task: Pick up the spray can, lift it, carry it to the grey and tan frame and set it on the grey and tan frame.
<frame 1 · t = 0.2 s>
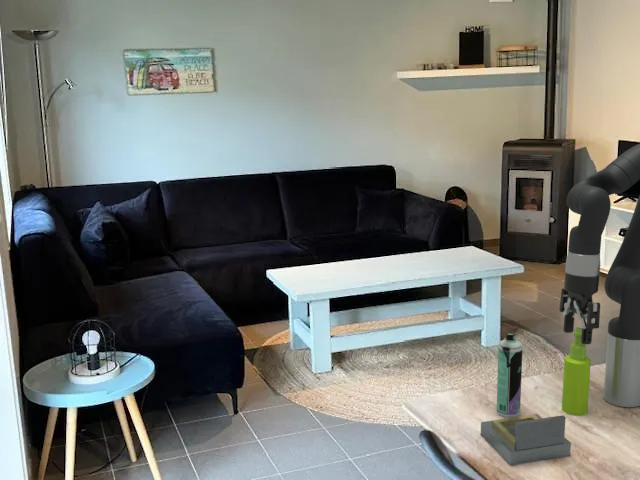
hand: (576, 337, 179), 18 cm above the table, tool pointing down, fingers open, 8 cm apart
spray can: (508, 413, 182), on the table
grey and tan frame: (524, 444, 166), on the table
soap dispenser: (574, 409, 182), on the table
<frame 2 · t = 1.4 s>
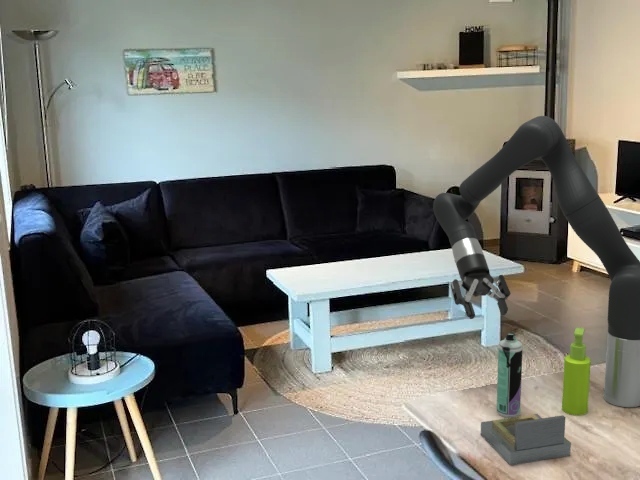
hand: (488, 315, 187), 21 cm above the table, tool tilted 45°, fingers open, 8 cm apart
nothing on the table moved.
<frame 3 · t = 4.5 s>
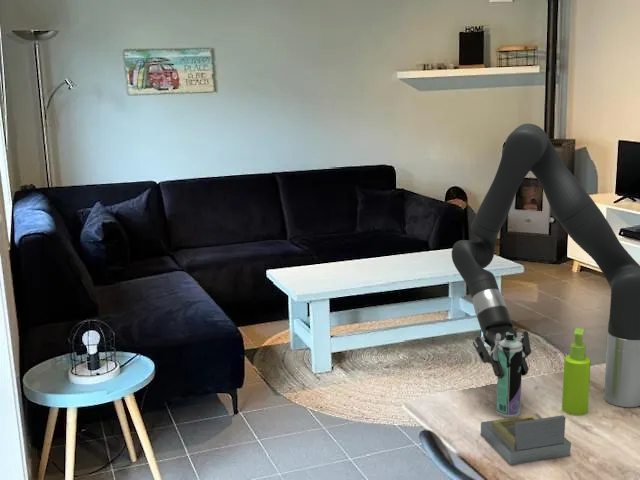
hand: (513, 375, 177), 10 cm above the table, tool tilted 45°, fingers closed on spray can, 5 cm apart
spray can: (508, 413, 182), on the table, touching gripper
everything else where it was.
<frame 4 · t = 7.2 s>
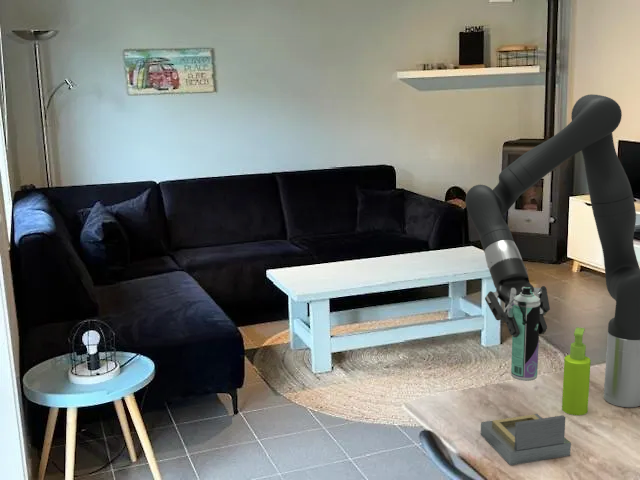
hand: (529, 334, 160), 26 cm above the table, tool tilted 45°, fingers closed on spray can, 5 cm apart
spray can: (524, 376, 164), point 16 cm above the table, touching gripper
everything else where it was.
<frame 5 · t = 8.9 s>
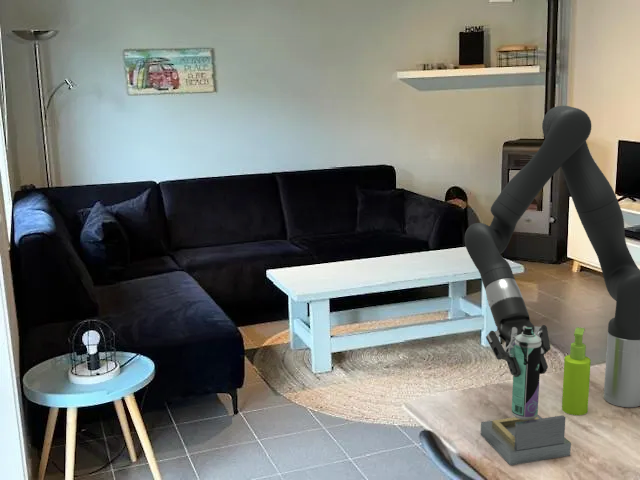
hand: (530, 373, 161), 17 cm above the table, tool tilted 45°, fingers closed on spray can, 5 cm apart
spray can: (524, 415, 165), point 7 cm above the table, touching gripper
everything else where it was.
when the fingers open (15 cm above the table, at t = 10.0 s): spray can drops 1 cm, resting on grey and tan frame.
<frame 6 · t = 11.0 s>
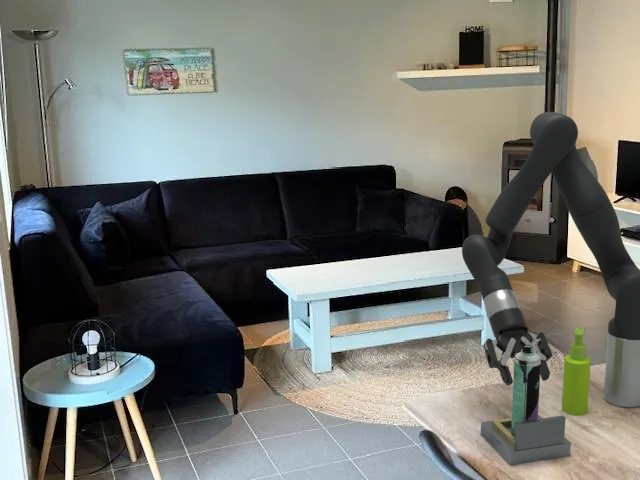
hand: (528, 381, 162), 15 cm above the table, tool tilted 45°, fingers open, 8 cm apart
spray can: (524, 432, 166), point 3 cm above the table, touching grey and tan frame
everything else where it was.
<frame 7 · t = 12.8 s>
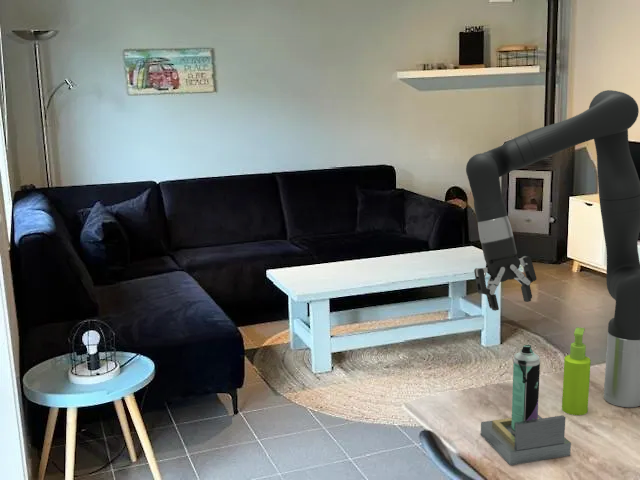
hand: (511, 305, 177), 26 cm above the table, tool tilted 15°, fingers open, 8 cm apart
nothing on the table moved.
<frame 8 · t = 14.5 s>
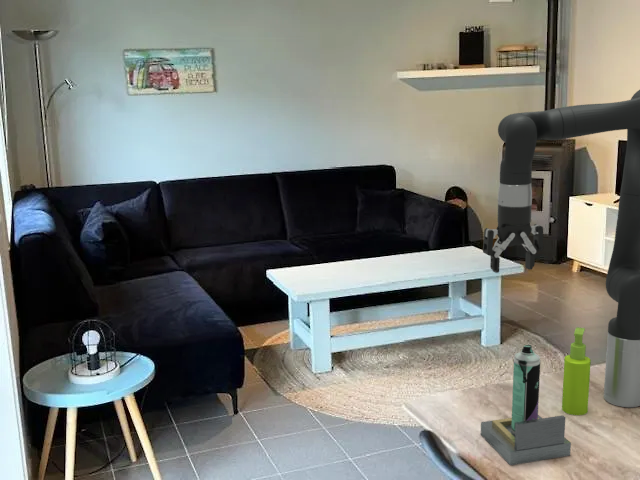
hand: (512, 270, 178), 34 cm above the table, tool pointing down, fingers open, 8 cm apart
nothing on the table moved.
at the end: spray can inside the target area on the grey and tan frame (0.3 cm from its centre), point 2.8 cm above the grey and tan frame's base; spray can tilted 0°; the gripper is holding nothing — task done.
